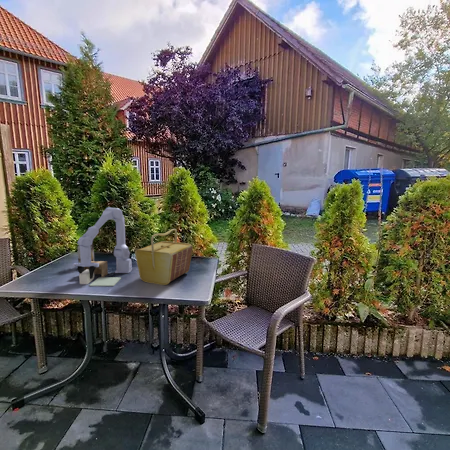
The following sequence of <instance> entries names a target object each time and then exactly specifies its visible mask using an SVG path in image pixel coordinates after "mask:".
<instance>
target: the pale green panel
mask: <svg viewBox="0 0 450 450" xmlns="http://www.w3.org/2000/svg"><path fill="white" fill-rule="evenodd" d="M121 279H122V277H120V276H119V277H116V276H115V277H114V276H113V277H111V276H110V277H107V276H105V277H102V276H99V277H98V278H96V279H95V280H94V281H91V282H90V284H88V286H89V287H114V286H115V285H117V284H118V282H119V281H121Z"/></svg>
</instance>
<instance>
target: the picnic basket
mask: <svg viewBox="0 0 450 450" xmlns="http://www.w3.org/2000/svg"><path fill="white" fill-rule="evenodd" d="M173 231H174V241H167V240H161V241H159V242H156V243H154V238H155V237H157V236H159V237H164V236H165V237H166V236H167V235H170V234H171V233H172V232H173ZM193 249H194V246H193V245H192V244H191V243H189V242H188V243H187V242H186V243H185V242H178V230H177V229H176V228H172V229H170V230H168V231H167V232H164V233H161V232H160V233H159V232H158V233H154V234H153V235H152V236H151V237H150V245H147V246H144V247H142V248H138V249H135V251H134V256H135V260H136V264H137V270H138V274H139V278H140V279H141V281H143V282H144V283H149V284H155V285H161V286H167V285H169V284H170V283H171V282H172V281H174V280H176V279H178V278H179V277H181V276H183V275H184V274H186V273H188V272H190V266H191V260H192V256H193Z"/></svg>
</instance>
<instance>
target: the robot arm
mask: <svg viewBox="0 0 450 450" xmlns="http://www.w3.org/2000/svg"><path fill="white" fill-rule="evenodd" d="M109 220H113V221H115V235H116V236H115V237H116V245H115V246H114V249H113V256H114V257H115V260H116V261H115V262H116V270H115V271H114V274H130V272H132V270H133V267H132V264H133V263H132V259H131V258H130V254H131V253H130V250H129V247H128V246H127V245H126V225H125V224H126V223H125V222H126V221H125V216H124V214H123V211H122V209H120V208H118V207H106V208H105V210H103V212H102V214H101V216H100V217H99V218H98V220H97V221H96V222H95V224H94V225H93V226H89V227H88V228H87V230H86V232H85V233H83V235H82V236H80V237H79V238H78V241H77V242H76V243H77V246H80V257H81V263H78V262H74V263H72V265H73V266H72V267H73V268H76V271H78V274H81V273H82V272H83V271H84V267H90V268H89V273H90V279H92V278H93V273H94V270H95V268H96V267H99V263H91V248H90V246H91V245H92V244H93V242H94V239H95V238H96V236H97V235H98V234H99V233H100V229H101V227H102V226H103V225H104V224H105V223H106V222H107V221H109Z"/></svg>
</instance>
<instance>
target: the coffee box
mask: <svg viewBox="0 0 450 450" xmlns="http://www.w3.org/2000/svg"><path fill="white" fill-rule="evenodd" d="M90 248H91V261H95V250H94V243H92V245H91V246H90ZM77 259H78V261H77V263H81V257H80V246H79V245H77Z"/></svg>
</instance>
